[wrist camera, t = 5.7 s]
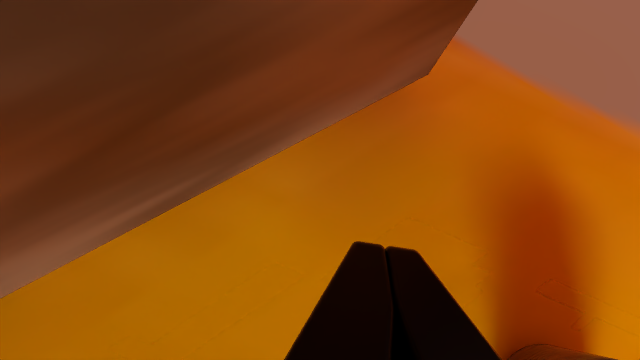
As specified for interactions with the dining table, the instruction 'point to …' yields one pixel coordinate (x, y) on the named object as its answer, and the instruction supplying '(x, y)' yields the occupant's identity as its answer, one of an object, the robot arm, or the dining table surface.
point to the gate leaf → (177, 102)
